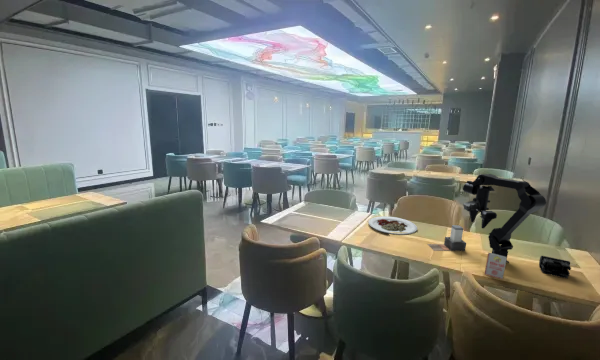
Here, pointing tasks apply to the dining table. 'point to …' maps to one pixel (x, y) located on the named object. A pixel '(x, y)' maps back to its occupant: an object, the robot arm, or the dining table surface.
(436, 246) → the socket deck
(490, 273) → the tea bag
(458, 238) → the plug
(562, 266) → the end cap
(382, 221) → the plated food
